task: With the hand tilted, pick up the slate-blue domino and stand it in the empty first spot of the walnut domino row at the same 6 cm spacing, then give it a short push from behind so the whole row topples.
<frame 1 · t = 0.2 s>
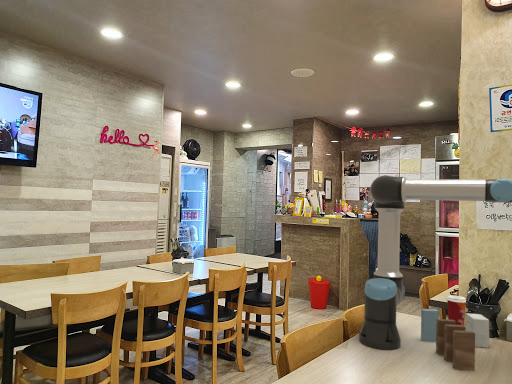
domino 4: (463, 368, 120), on the table
small box: (477, 344, 144), on the table
blue domino: (429, 340, 145), on the table
domino 3: (454, 361, 126), on the table
domino 2: (445, 354, 132), on the table
paper cup: (456, 330, 160), on the table
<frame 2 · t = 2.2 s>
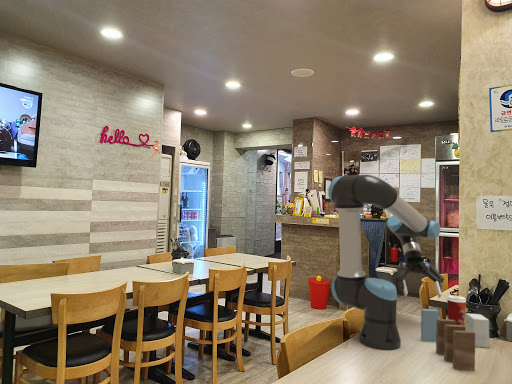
hand: (423, 295, 156), 15 cm above the table, tool tilted 45°, fingers open, 13 cm apart
nothing on the table moved.
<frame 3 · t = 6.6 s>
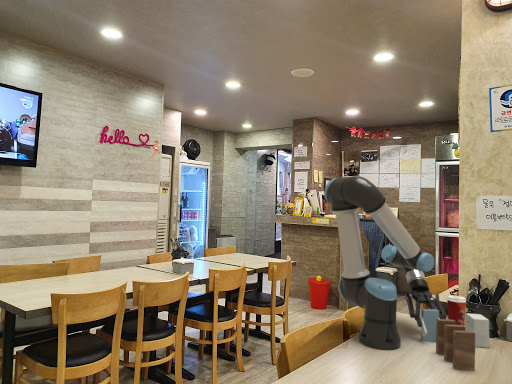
hand: (433, 334, 142), 4 cm above the table, tool tilted 45°, fingers closed on blue domino, 6 cm apart
blue domino: (429, 340, 145), on the table, touching gripper
everything else where it was.
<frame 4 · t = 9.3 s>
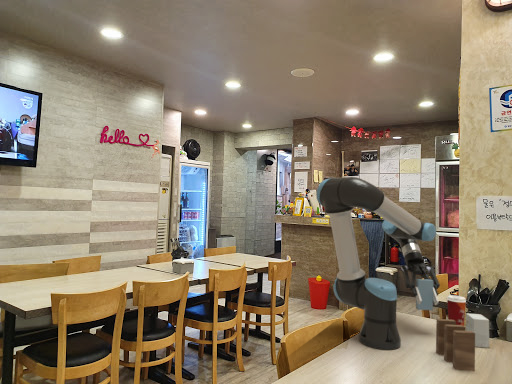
hand: (428, 302, 148), 14 cm above the table, tool tilted 45°, fingers closed on blue domino, 6 cm apart
blue domino: (424, 309, 151), point 11 cm above the table, touching gripper
everything else where it was.
when the fingers open (5 cm above the table, at t = 12.5 s): blue domino stays where it is, on the table.
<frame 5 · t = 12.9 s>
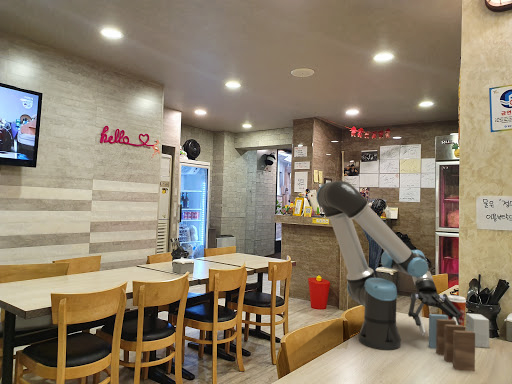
hand: (441, 334, 136), 6 cm above the table, tool tilted 45°, fingers open, 12 cm apart
blue domino: (437, 347, 138), on the table
everything else where it was.
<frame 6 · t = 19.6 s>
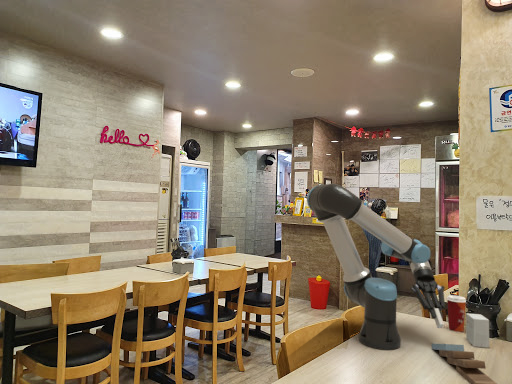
hand: (440, 326, 137), 9 cm above the table, tool tilted 45°, fingers closed
domino 4: (465, 368, 119), point 1 cm above the table, tilted 90°, touching domino 3
blue domino: (440, 346, 137), point 1 cm above the table, tilted 71°
domino 3: (456, 360, 125), point 1 cm above the table, tilted 73°, touching domino 2, domino 4
domino 2: (447, 353, 131), point 1 cm above the table, tilted 71°, touching domino 3
everything else where it was.
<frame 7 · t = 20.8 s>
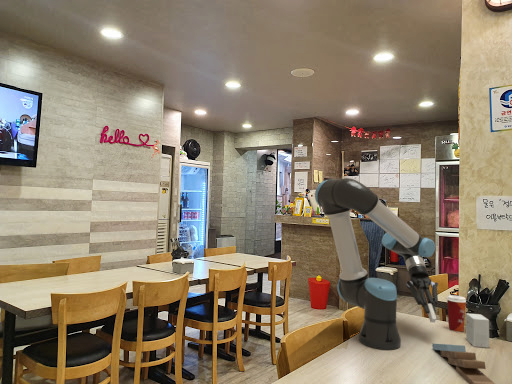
hand: (433, 320, 143), 9 cm above the table, tool tilted 45°, fingers closed
domino 4: (465, 369, 119), point 1 cm above the table, tilted 90°
blue domino: (440, 346, 136), point 1 cm above the table, tilted 71°, touching domino 2
domino 3: (457, 361, 124), point 1 cm above the table, tilted 72°, touching domino 2
domino 2: (449, 353, 130), point 1 cm above the table, tilted 71°, touching blue domino, domino 3
everything else where it was.
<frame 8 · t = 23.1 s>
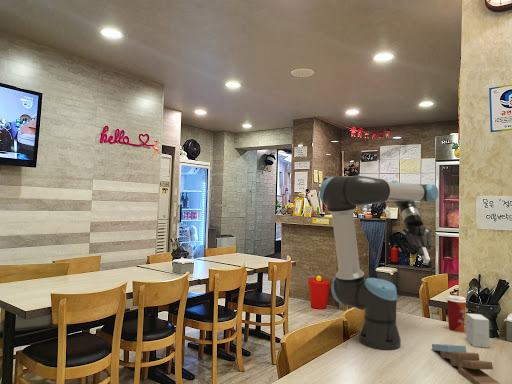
hand: (427, 261, 153), 30 cm above the table, tool tilted 45°, fingers closed
domino 4: (467, 370, 118), point 1 cm above the table, tilted 90°, touching domino 3
domino 3: (459, 362, 123), point 1 cm above the table, tilted 72°, touching domino 2, domino 4
domino 2: (448, 354, 129), point 1 cm above the table, tilted 71°, touching blue domino, domino 3
everything else where it was.
at the end: domino 4 tilted 90°; blue domino inside the target area (2.3 cm from its centre), point 1.0 cm above the table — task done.
